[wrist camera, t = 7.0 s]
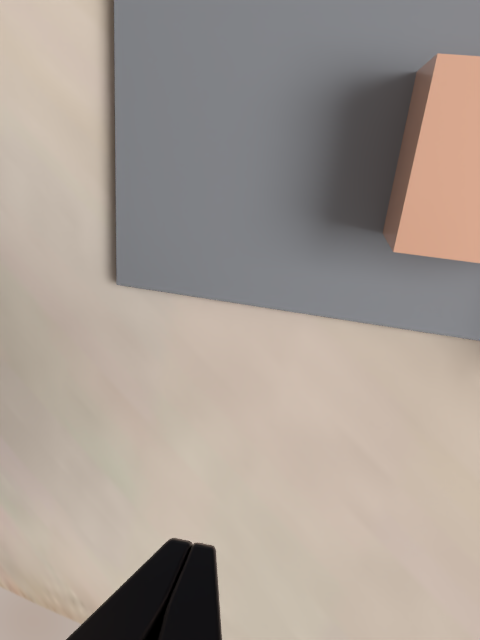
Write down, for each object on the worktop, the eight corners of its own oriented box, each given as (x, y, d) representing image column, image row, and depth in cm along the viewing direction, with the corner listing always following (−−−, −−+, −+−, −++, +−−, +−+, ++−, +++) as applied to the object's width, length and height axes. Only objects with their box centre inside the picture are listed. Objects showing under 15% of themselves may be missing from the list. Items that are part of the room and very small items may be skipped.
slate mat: (121, 281, 19) (86, 304, 16) (120, -79, 14) (70, -133, 12) (604, 355, 16) (660, 397, 14) (787, -56, 12) (926, -117, 9)
